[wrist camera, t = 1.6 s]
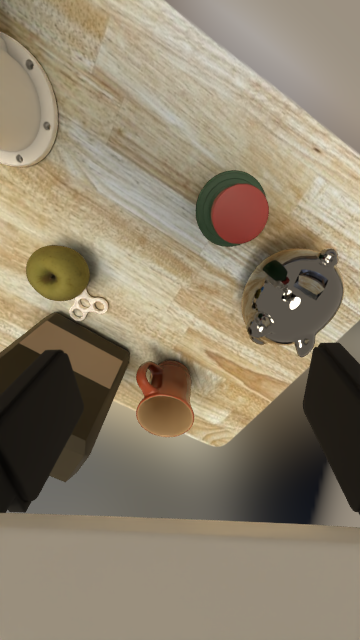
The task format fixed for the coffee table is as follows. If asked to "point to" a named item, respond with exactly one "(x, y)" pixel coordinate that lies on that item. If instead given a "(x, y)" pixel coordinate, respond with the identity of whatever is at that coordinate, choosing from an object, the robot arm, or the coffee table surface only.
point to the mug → (165, 398)
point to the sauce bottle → (208, 197)
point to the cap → (239, 213)
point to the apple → (57, 272)
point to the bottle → (90, 372)
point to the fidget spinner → (87, 309)
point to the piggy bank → (292, 297)
